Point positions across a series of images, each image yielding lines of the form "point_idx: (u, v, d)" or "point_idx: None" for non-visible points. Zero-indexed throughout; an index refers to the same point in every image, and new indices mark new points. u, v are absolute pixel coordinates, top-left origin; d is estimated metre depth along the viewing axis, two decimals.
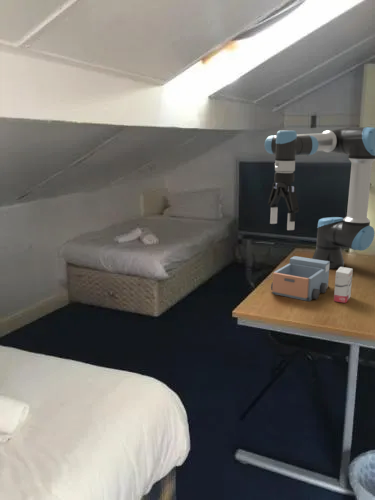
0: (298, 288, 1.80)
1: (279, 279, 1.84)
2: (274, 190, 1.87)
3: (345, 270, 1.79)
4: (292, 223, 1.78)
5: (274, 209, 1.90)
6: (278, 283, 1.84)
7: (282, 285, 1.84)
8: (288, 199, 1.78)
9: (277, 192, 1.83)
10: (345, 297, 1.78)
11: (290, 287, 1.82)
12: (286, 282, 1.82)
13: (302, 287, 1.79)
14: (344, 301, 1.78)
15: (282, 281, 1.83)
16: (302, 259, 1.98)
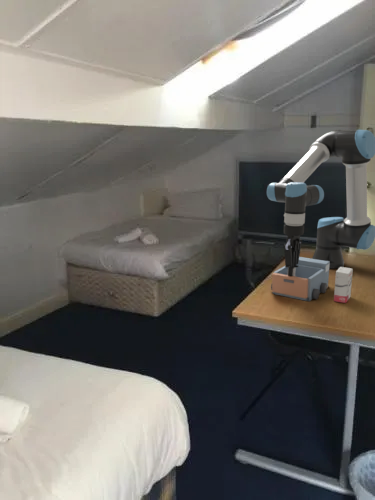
0: (298, 289, 1.80)
1: (278, 280, 1.83)
2: None
3: (345, 270, 1.79)
4: None
5: None
6: (278, 284, 1.84)
7: (282, 285, 1.83)
8: None
9: None
10: (345, 297, 1.78)
11: (290, 287, 1.82)
12: (285, 283, 1.82)
13: (302, 288, 1.79)
14: (344, 301, 1.78)
15: (281, 282, 1.83)
16: (302, 259, 1.98)
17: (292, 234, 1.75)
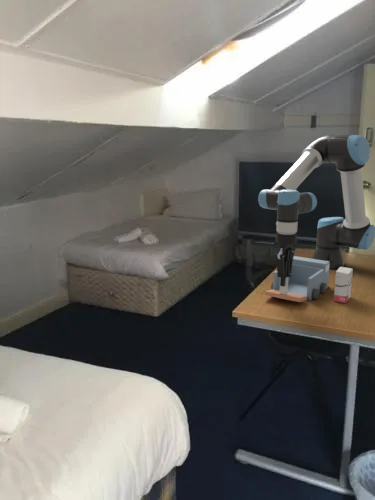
0: None
1: None
2: None
3: (345, 270, 1.79)
4: (284, 287, 1.77)
5: None
6: None
7: None
8: None
9: None
10: (345, 297, 1.78)
11: None
12: None
13: None
14: (344, 301, 1.78)
15: None
16: (302, 259, 1.98)
17: (284, 243, 1.70)
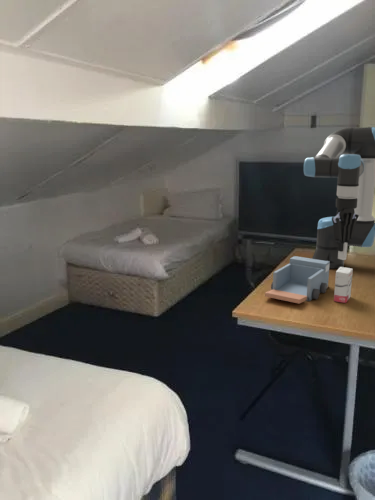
0: None
1: None
2: None
3: (345, 270, 1.79)
4: (342, 253, 1.78)
5: None
6: None
7: None
8: None
9: None
10: (345, 297, 1.78)
11: None
12: None
13: None
14: (344, 301, 1.78)
15: None
16: (302, 259, 1.98)
17: (342, 207, 1.71)
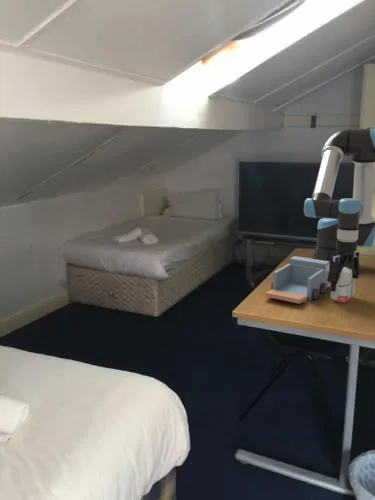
0: None
1: None
2: (352, 258, 1.83)
3: (345, 270, 1.79)
4: (334, 293, 1.79)
5: None
6: None
7: None
8: None
9: None
10: (345, 297, 1.78)
11: None
12: None
13: None
14: (344, 301, 1.78)
15: None
16: (302, 259, 1.98)
17: (342, 250, 1.75)
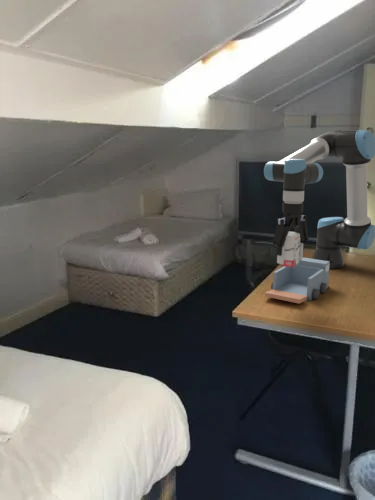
0: None
1: None
2: (300, 222, 1.77)
3: (292, 234, 1.73)
4: (280, 257, 1.73)
5: None
6: None
7: None
8: (282, 231, 1.72)
9: None
10: (291, 261, 1.72)
11: None
12: None
13: None
14: (290, 265, 1.73)
15: None
16: (302, 259, 1.98)
17: (287, 212, 1.69)
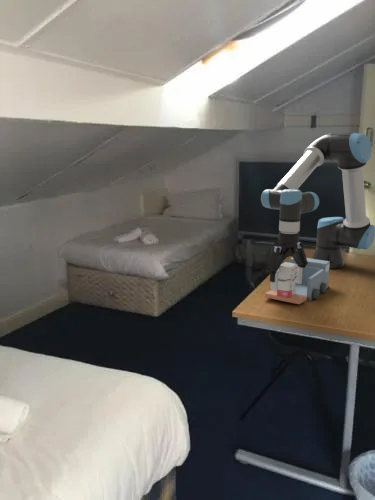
0: None
1: None
2: (297, 249, 1.80)
3: (289, 265, 1.77)
4: (273, 283, 1.74)
5: (298, 269, 1.82)
6: None
7: None
8: (277, 259, 1.74)
9: None
10: (288, 292, 1.75)
11: None
12: None
13: None
14: (287, 296, 1.76)
15: None
16: None
17: (283, 242, 1.72)
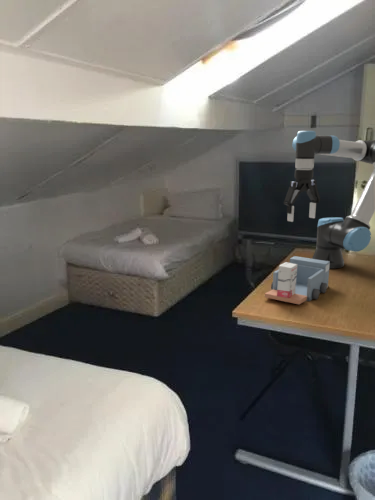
0: None
1: None
2: (311, 186, 2.01)
3: (289, 265, 1.77)
4: (290, 215, 1.96)
5: (312, 204, 2.03)
6: None
7: None
8: (293, 193, 1.95)
9: None
10: (288, 292, 1.75)
11: None
12: None
13: None
14: (287, 296, 1.76)
15: None
16: (302, 259, 1.98)
17: (299, 177, 1.93)
